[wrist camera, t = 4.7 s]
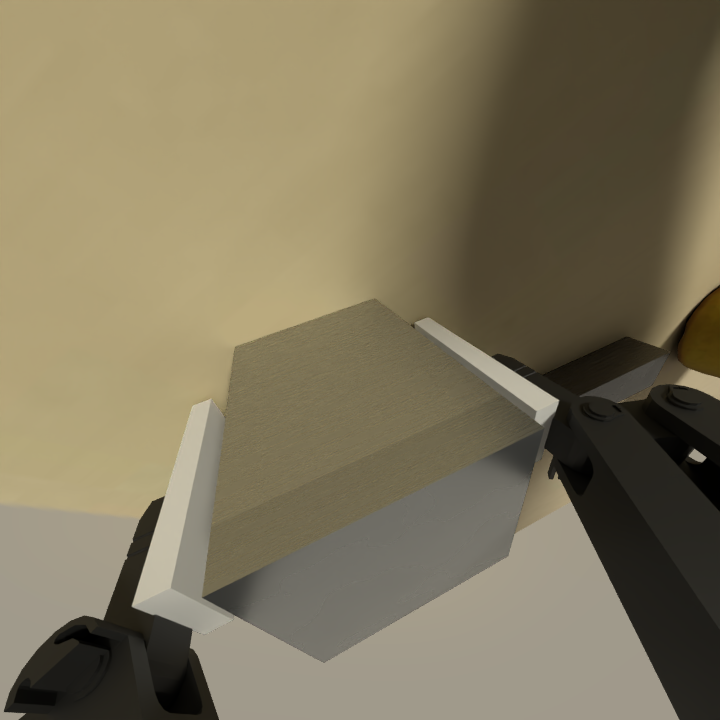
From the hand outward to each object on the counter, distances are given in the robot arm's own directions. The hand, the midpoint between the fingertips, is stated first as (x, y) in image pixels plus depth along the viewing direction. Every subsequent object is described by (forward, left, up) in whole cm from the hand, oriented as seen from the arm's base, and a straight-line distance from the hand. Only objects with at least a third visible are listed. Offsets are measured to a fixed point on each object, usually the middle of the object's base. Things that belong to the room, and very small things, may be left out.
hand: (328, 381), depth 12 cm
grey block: (0, 0, 0) cm, 0 cm away
